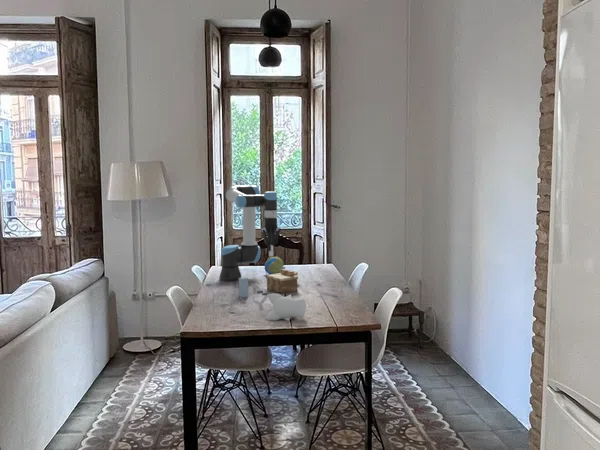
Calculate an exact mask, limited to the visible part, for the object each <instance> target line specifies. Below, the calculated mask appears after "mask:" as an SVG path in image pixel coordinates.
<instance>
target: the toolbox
mask: <svg viewBox="0 0 600 450" xmlns="http://www.w3.org/2000/svg"><path fill="white" fill-rule="evenodd" d="M266 285H267V286H266V289H267V291H270V292H274V293H275V294H280V295H285V294H290V293H291V294H292V293H297V292H298V279H292V280H285V281H279V280H275V279H272V278H268V277H266Z"/></svg>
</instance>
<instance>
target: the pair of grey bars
mask: <svg viewBox="0 0 600 450" xmlns="http://www.w3.org/2000/svg"><path fill="white" fill-rule="evenodd" d="M256 293H257V294H260V293H261V295H262V296H265V295H266V296H267V294H270V292H269V291H264V289H262V290H261V289H259V290H256Z"/></svg>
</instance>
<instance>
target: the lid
mask: <svg viewBox="0 0 600 450" xmlns="http://www.w3.org/2000/svg"><path fill="white" fill-rule="evenodd" d="M265 277H266V278H267V277H268V278H272V279H275V280H279V281H285V280H292V279H297V280H298V279H299V276H298V277H297V276H294V270H291V269H286V268H285V269H281V273H278V274H266V275H265Z"/></svg>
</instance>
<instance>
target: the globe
mask: <svg viewBox="0 0 600 450" xmlns="http://www.w3.org/2000/svg"><path fill="white" fill-rule="evenodd" d="M281 269H286V266H285V267H284V261H283V260H282V258H280V257H278V256H277V255H276V256H269V257H267V260H266V261H265V263H264V270H265V272H266V273H267V275H270V274H278V273H281Z"/></svg>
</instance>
